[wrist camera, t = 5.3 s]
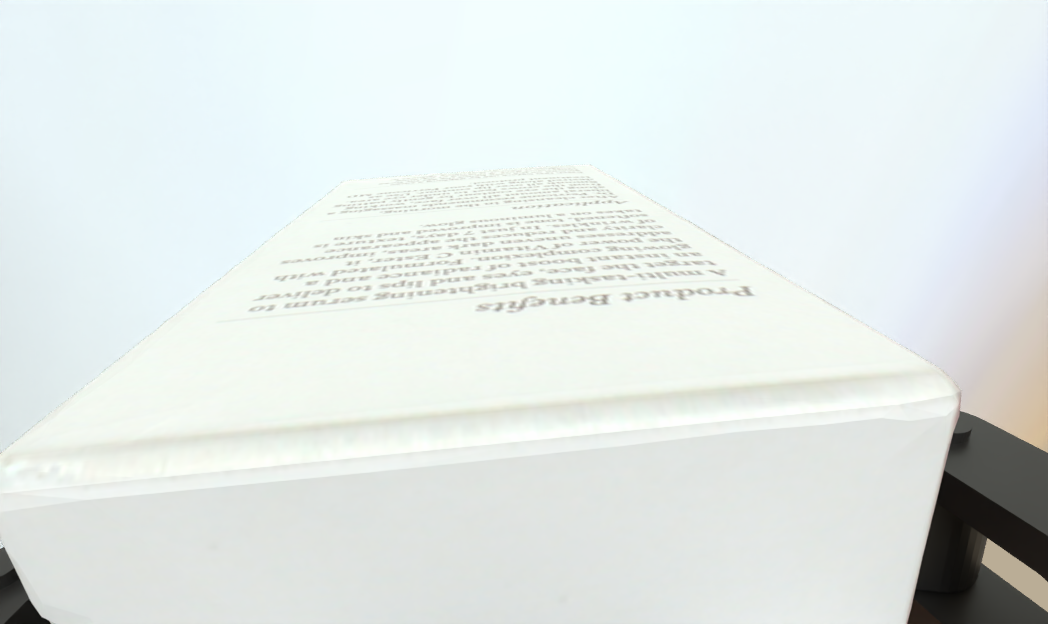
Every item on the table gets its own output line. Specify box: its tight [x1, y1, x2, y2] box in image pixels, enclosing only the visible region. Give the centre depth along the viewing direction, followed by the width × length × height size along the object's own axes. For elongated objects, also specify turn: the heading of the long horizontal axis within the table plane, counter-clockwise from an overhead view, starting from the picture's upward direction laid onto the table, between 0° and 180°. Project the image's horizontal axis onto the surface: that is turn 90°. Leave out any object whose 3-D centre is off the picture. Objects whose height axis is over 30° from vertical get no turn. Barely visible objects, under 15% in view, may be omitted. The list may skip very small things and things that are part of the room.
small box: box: [0, 165, 962, 624], centre depth 9 cm, size 8×6×10 cm
